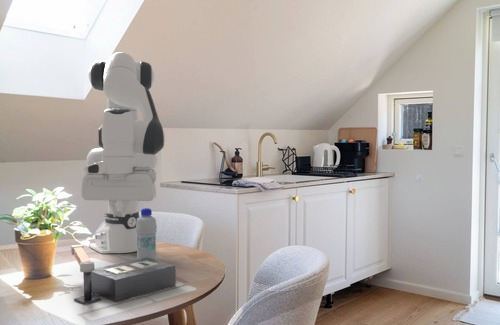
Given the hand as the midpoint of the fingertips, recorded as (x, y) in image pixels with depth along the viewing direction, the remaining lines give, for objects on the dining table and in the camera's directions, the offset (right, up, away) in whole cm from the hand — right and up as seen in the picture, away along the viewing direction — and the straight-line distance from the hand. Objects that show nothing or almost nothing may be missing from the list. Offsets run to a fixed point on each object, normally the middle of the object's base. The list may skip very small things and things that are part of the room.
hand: (119, 216), depth 143 cm
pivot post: (-7, -22, -6) cm, 23 cm away
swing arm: (-11, -13, +3) cm, 18 cm away
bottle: (+3, -20, +25) cm, 32 cm away
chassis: (+3, -21, +4) cm, 21 cm away
